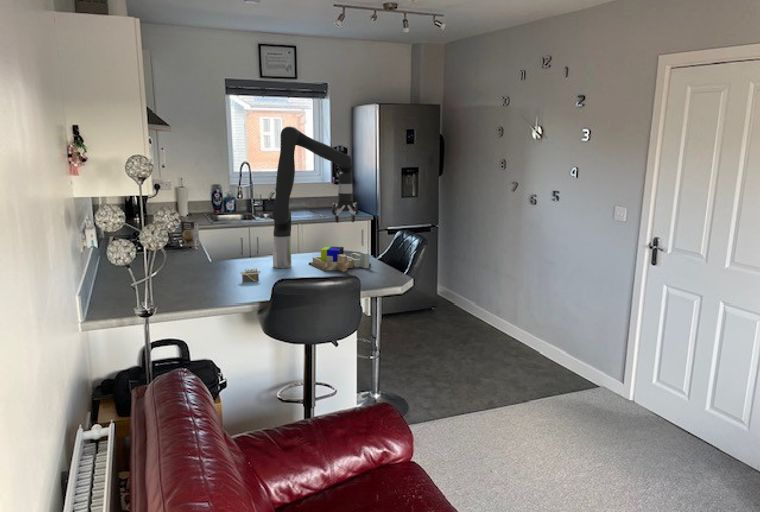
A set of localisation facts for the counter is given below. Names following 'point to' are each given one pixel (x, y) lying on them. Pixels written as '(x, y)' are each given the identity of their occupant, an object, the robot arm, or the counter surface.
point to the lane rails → (323, 268)
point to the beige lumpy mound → (334, 263)
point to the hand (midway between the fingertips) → (345, 222)
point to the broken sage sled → (360, 259)
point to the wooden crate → (250, 275)
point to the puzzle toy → (331, 253)
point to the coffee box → (190, 233)
